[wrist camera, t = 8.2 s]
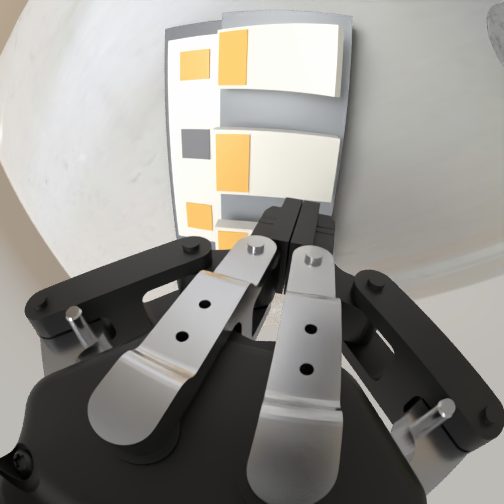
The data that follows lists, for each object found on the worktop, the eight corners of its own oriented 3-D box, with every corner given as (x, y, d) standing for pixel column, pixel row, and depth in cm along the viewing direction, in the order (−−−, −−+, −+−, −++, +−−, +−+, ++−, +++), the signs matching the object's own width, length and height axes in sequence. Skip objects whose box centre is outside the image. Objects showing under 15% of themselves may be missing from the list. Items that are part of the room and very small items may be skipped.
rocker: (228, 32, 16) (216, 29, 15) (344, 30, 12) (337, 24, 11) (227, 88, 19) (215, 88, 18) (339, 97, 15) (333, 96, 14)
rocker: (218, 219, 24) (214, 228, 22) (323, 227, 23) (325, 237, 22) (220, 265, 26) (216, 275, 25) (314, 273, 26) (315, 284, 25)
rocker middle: (216, 126, 19) (211, 130, 18) (336, 135, 18) (340, 139, 17) (217, 187, 22) (212, 194, 21) (328, 195, 21) (331, 203, 20)
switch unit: (170, 30, 19) (150, 26, 17) (350, 26, 16) (352, 16, 13) (181, 240, 34) (167, 255, 31) (319, 266, 30) (316, 287, 27)
